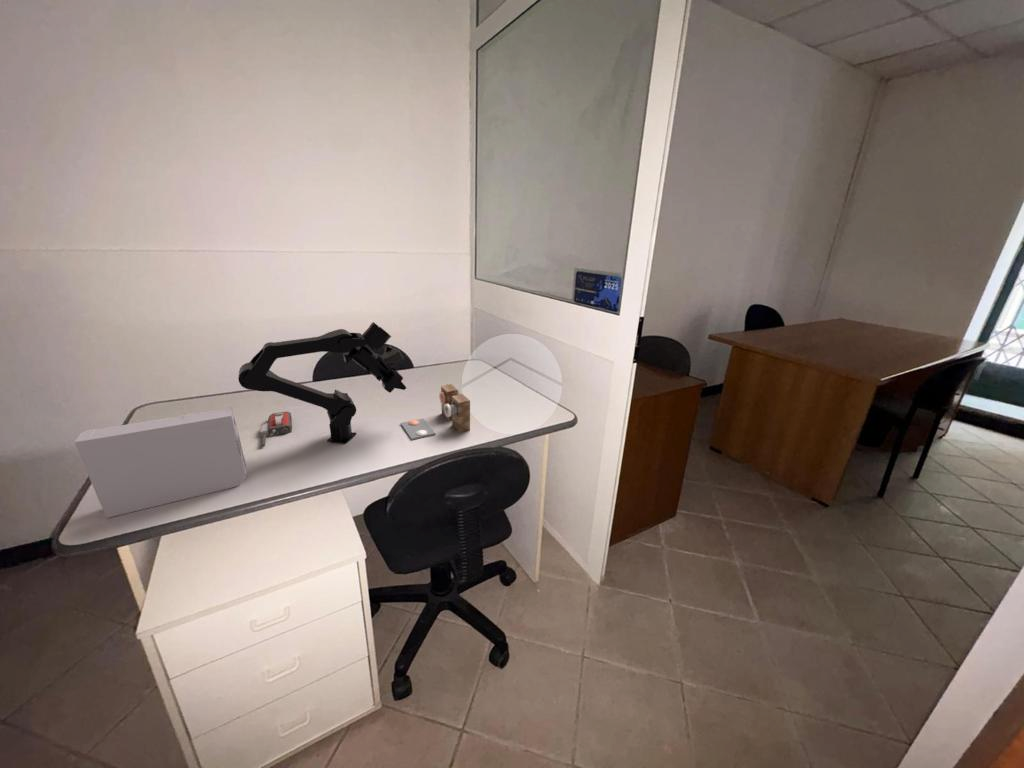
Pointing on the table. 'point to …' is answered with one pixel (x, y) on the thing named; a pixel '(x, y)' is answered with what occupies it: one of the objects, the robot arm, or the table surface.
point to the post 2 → (461, 413)
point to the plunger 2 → (450, 409)
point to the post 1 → (448, 396)
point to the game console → (162, 460)
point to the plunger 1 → (444, 397)
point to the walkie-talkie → (276, 425)
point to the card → (417, 429)
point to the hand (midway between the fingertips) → (405, 388)
